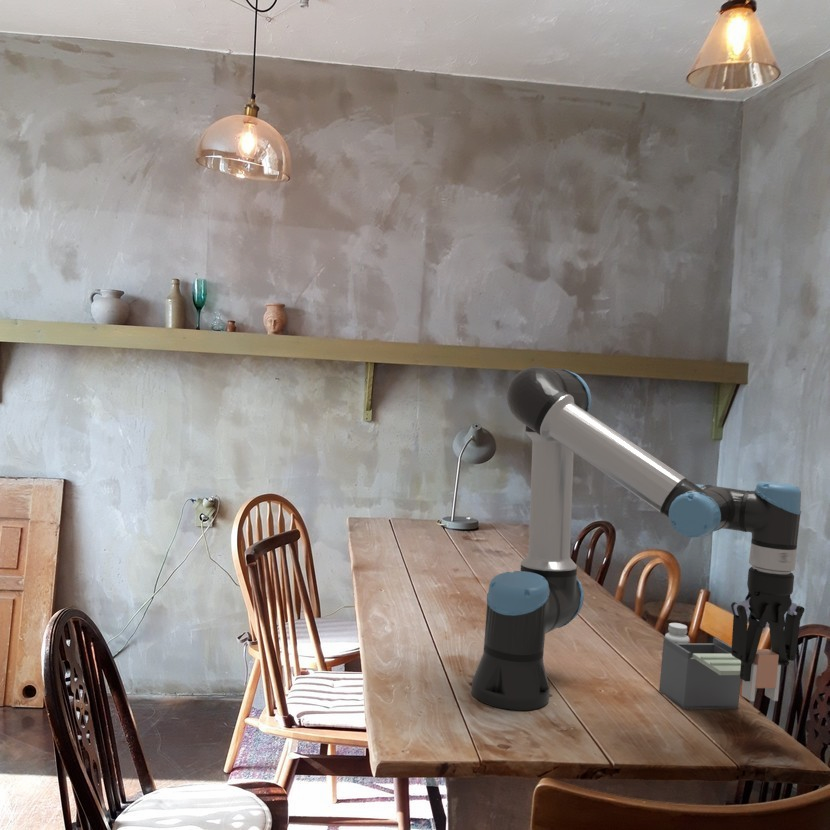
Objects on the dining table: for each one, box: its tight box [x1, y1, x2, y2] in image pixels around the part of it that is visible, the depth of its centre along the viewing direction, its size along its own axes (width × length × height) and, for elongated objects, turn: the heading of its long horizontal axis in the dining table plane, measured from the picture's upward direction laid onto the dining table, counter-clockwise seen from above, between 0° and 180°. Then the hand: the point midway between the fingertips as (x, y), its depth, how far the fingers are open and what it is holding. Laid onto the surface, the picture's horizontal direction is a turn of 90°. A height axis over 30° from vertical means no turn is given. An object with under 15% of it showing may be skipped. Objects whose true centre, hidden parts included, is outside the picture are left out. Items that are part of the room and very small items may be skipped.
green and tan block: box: [692, 648, 779, 689], centre depth 154 cm, size 10×16×6 cm, turn 12°
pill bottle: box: [664, 622, 691, 643], centre depth 186 cm, size 5×5×10 cm
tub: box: [658, 636, 742, 710], centre depth 167 cm, size 12×10×11 cm
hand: (759, 697), depth 148 cm, fingers closed on green and tan block, 4 cm apart
